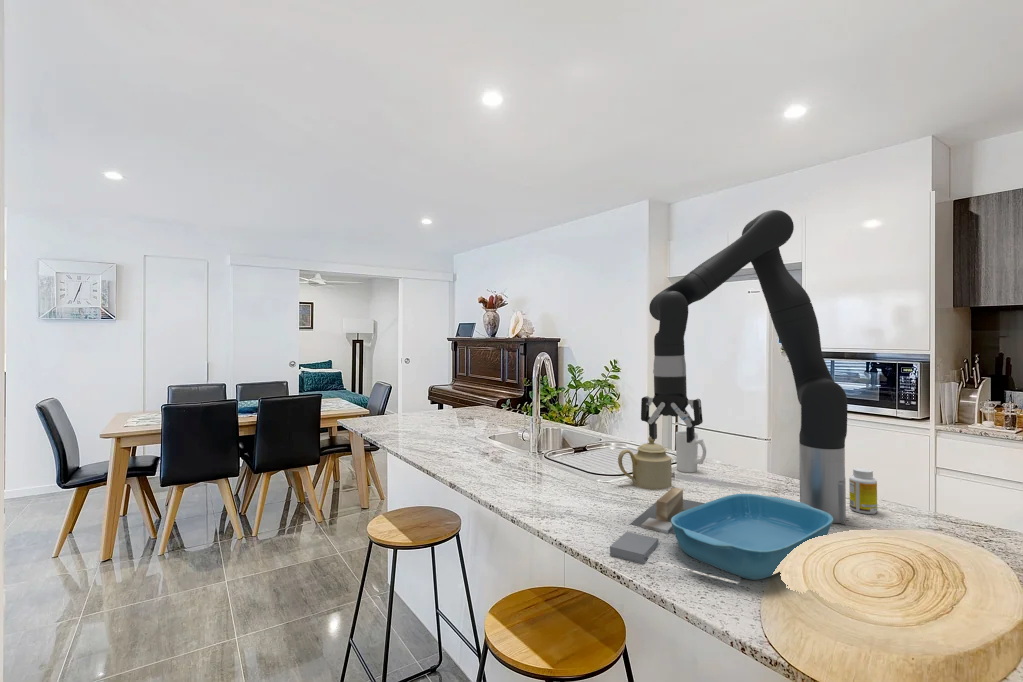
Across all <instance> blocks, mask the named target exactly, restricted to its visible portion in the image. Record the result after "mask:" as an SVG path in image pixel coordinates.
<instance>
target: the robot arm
mask: <svg viewBox="0 0 1023 682" xmlns="http://www.w3.org/2000/svg"><path fill="white" fill-rule="evenodd" d="M794 226H795V225H794V221H793V218H792V217H791V216H790V215H789V214H788V213H786V212H785V211H782V210H778V209H772V210H768V211H765V212H762V213H760V214H758V216H756V217H754V218H753V219H751V220H750V221H749V222H748V223H747V224H745V226H744V228H743V229H742V231H741V236H740V237H738V238H737V239H736V240H735V241H734V242H732V243H731V244H729V245H728V246H726V247H725V248H723V249H722V250H720V251H719V252H717V253H716V254H714V255H712V256H711V257H709V258H707V260H705V261H703V262H702V263H700V264H699V265H698V266H697V267H695V268H694V269H692V270H691V271H690V272H688V273H687V274H686V275H685V276H684V277H683V278H681V279H680V280H678V281H676V282H675V283H673V284H671V285H670V286H668V287H666V288H664V289H663V290H662V291H660V292H658V293H657V294H656V295H654V297H653V298H652V299H651V301H650V302H649V307H648V308H649V314H650V316H651V317H652V318H653V319H655V320H656V321H659V325H658V331H657V333H655V335H654V338H653V339H654V340H653V345H654V346H653V348H654V351H653V354H654V359H653V370H652V373H653V393H654V395H653V397H650V396H648V395H647V396H643V397H642V398H641V402H640V405H641V407H640V420H641V421H642V422H645V423H647V424H648V437H649V436H650V437H651V438H652V439H654V440H655V441H656V440H657V439H658V423H656V422H657V421H658V420H659V418H660V417H661V416H663V417H664V416H665V417H668V416H670V417H673V418H674V417H679V418H680V420H681V421H683V422H684V423H685V425H686V427H685V429H686V430H685V431H686V434H687V443H691V442H692V441H693V440H694V438H695V433H696V432H695V427H696V426H700V425H701V424H703V421H704V420H703V411H702V410H703V409H702V401H701V399H700V398H695V399H688V395H687V391H688V390H687V363H686V356H685V335H686V331H687V325H688V320H689V319H688V318H689V306H690V305H691V304H693V303H695V302H698V301H701V300H703V299H705V297H707V296H709V295H710V294H711V293H712V292H713V291H715V290H716V289H718V288H719V287H720V286H722V285H723V284H724V283H725V282H726V281H728V280H729V279H730V278H731V277H733V276H734V275H735V274H737V273H738V272H739V271H740V270H741V269H743V268H744V267H745V266H747V265H749V264H750V263H751V265H752V267H753V270H754V272H755V274H756V276H757V278H758V281H759V284H760V288H761V290H762V294H763V296H764V298H765V299H764V300H765V301H766V305H767V309H768V311H769V314H770V318H771V321H772V323H773V327H774V329H775V333H776V335H777V337H778V339H779V342H780V344H781V346H782V348H783V350H784V353H785V355H786V357H787V359H788V361H789V365H790V367H791V371H792V375H793V379H794V384H795V390H796V395H797V400H798V403H799V404H800V431H799V435H798V436H799V437H798V438H799V441H798V442H799V443H798V444H799V449H798V450H799V452H798V453H799V454H798V455H799V502H801V503H805V504H807V505H809V506H811V507H813V508H816V509H819V510H822V511H824V512H827V513H829V514H830V515H831V516H832V517H833V522H832V524H843V525H845V524H846V516H847V515H846V513H847V512H846V508H847V507H846V502H847V501H846V494H847V493H846V488H847V487H846V461H845V460H846V459H845V458H846V452H845V451H846V449H845V447H846V438H847V435H848V434H847V433H848V398H847V394H846V392H845V390H844V388H843V387H842V386H841V385H840V384H839V383H837V382H835V380H834V379H833V377H832V375H831V373H830V370H829V368H828V366H827V364H826V360H825V359H824V355H823V352H822V342H821V335H820V327H819V323H818V318H817V315H816V313H815V309H814V307H813V303H812V300H811V297H810V296H809V294H808V293H807V291H806V290H805V289H804V287H803V286H802V285H801V284H800V283H799V282H798V281H797V280H796V279H795V278H794V277H793V275H792V274H790V272H789V271H788V269H787V268H786V265H785V263H784V260H783V258H782V254H781V251H780V248H781V247H782V246H784V245H785V244H786V243H787V242H788V241H789V240H790V238H791V237H792V235H793V233H794V230H795V229H794V228H795V227H794ZM652 403H653V405H654V407H655V410H654V411H653V413H652V415H651V416H650V406H651V405H652ZM689 405H690V408H691V409H693V417H694V419H693V418H692V417H691V415H690V413H689V412H688V411H687V409H686V408H687V407H688V406H689Z"/></svg>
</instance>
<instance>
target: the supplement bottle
mask: <svg viewBox="0 0 1023 682" xmlns="http://www.w3.org/2000/svg"><path fill="white" fill-rule="evenodd" d="M852 470H853V471H852V475H850V476H849V478H848V479H849V480H848V481H849V487H848V488H849V508H850V510H852V511H854V512H856V513H859V514H865V515H866V514H867V515H873V514H876V513H877V512H878V481H877V479H876V478H875V477H874V474H873V473H874V470H873V469H870V468H866V467H853V469H852Z"/></svg>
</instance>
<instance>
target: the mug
mask: <svg viewBox="0 0 1023 682" xmlns="http://www.w3.org/2000/svg"><path fill="white" fill-rule="evenodd" d="M699 445H700V446H701V450H702V455H701V457H700V458H698V456H699V455H698V453H699V452H698V451H699V449H698V448H699V447H698V446H699ZM675 452H676V454H675V455H676V470H677V471H679V472H681V473H687V474H688V473H689V474H690V473H696V472H697V471H698V465H703V464H704V462H705V459H706V456H707V448H706V444H705V442H704V439H702V438H699V433H697V432H695V438H694V440H693V441H692V442H691V443H687V434H686V430H684V431H683V430H681V431H676V432H675Z"/></svg>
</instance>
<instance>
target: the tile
mask: <svg viewBox="0 0 1023 682" xmlns="http://www.w3.org/2000/svg"><path fill="white" fill-rule="evenodd" d="M659 544H660V543H659V538H657V537H653V536H647V535H643V534H640V533H633V532H630V531H625V532H624V533H623V534H622V535H621V536H620V537H619V538H618V539H616V540H615V541H614V542H613V543H612V544H611V545H610V546H609V556H611V555H612V557H615V556H616V557H615V558H618V557H619V559H622V558H623V560H626V561H630V562H634V563H639V564H643V565H644V564H646V563H647V561H648V560H649V559H650V558H649V556H651V554H652V553H653V552H654V550H655V549H656V548H657V547H658V546H659Z"/></svg>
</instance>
